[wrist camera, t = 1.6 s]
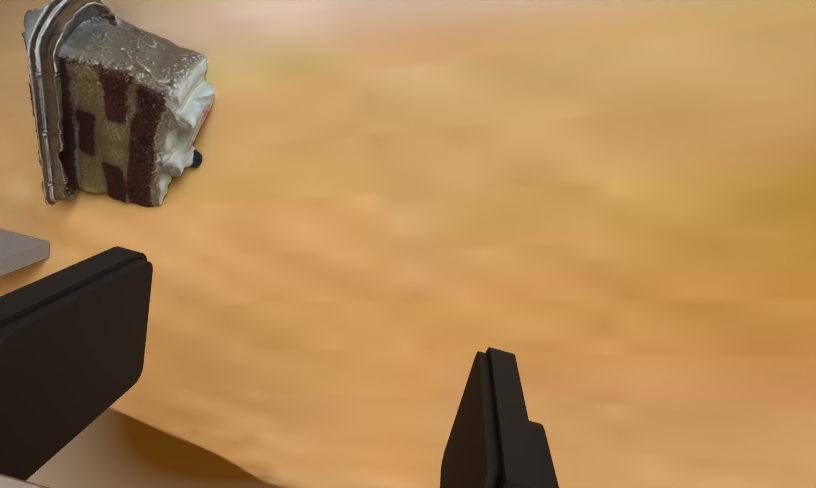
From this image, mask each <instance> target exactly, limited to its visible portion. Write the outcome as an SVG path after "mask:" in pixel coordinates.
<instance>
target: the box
mask: <svg viewBox="0 0 816 488" xmlns="http://www.w3.org/2000/svg"><path fill="white" fill-rule="evenodd" d="M49 246H50V242H48V241H44V240H40V239H36V238H33V237H29V236H25V235H22V234H18V233H14V232H11V231H7V230H3V229H0V276H2V275H5V274H7V273H10V272H13V271H15V270H18V269H20V268H23V267H25V266H28V265H31V264H33V263H36V262H38V261H41V260H43V259H46V258H48V257H49Z"/></svg>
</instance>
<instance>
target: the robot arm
mask: <svg viewBox="0 0 816 488" xmlns="http://www.w3.org/2000/svg"><path fill="white" fill-rule="evenodd" d="M152 272H153V267H152V264H151V262H148V261H147V258H146V256H145V254H143V253H140V252H136V251H133V250H129V249H125V248H121V247H118V246H117V247H113V248H111V249H109V250H106V251H104V252H102V253H100V254H97V255H95V256H93V257H90V258H88V259H86V260H83V261H81V262H79V263H77V264H74V265H72V266H70V267H67V268H65V269H63V270H61V271H58V272H56V273H54V274H51V275H49V276H47V277H44V278H42V279H40V280H38V281H35V282H33V283H31V284H28V285H26V286H24V287H22V288H19V289H17V290H15V291H12V292H10V293H8V294H5V295H3V296H1V297H0V488H48V487H45V486H41V485H38V484H34V483H30V482H27V481H26V480H27V479H28V478H29V477H30V476H31V475H33V474H34V473H35V472H36V471H37V470H38V469H39V468H40V467H41V466H43V465H44V464H45V463H46V462H47V461H48V460H50V459H51V457H53V456H54V455H55V454H56V453H57V452H59V451H60V450H61V449H62V448H63V447H64V446H65V445H66V444H68V443H69V442H70V441H71V440H72V439H73V438H74V437H75V436H77V435H78V434H79V433H80V432H81V431H82V430H83V429H85V427H87V426H88V425H89V424H90V423H91V422H93V421H94V420H95V419H96V418H97V417H98V416H99V415H100V414H101V413H103V412H104V411H105V410H106V409H107V408H108V407H109V406H111V405H112V404H113V403H114V402H115V401H116V400H117V399H119V398H120V397H121V396H122V395H123V394H124V393H125V392H126V391H128V390H129V389H130V388H131V387H132V386H133V385H134V384H135V383H136V382H137V381H138V379H139V377H140V375H141V373H142V369H143V362H144V352H145V342H146V332H147V322H148V312H149V302H150V292H151V282H152ZM440 488H559V486H558V482H557V478H556V474H555V470H554V466H553V462H552V458H551V454H550V450H549V446H548V442H547V438H546V434H545V430H544V428H543V425H541V424H539V423H536V422H532V421H529V420H528V415H527V410H526V405H525V401H524V396H523V391H522V386H521V382H520V377H519V372H518V367H517V362H516V358H515V355H514V354H512V353H508V352H505V351H501V350H497V349H494V348H490V347H489V348H488V349H487V351H486V353H483V352H479V351H478V352H477V354H476V356H475V359H474V362H473V365H472V368H471V371H470V375H469V378H468V381H467V384H466V387H465V390H464V393H463V396H462V399H461V402H460V405H459V409H458V412H457V415H456V418H455V421H454V424H453V427H452V430H451V433H450V436H449V439H448V442H447V446H446V449H445V452H444V456H443V460H442V466H441V479H440Z"/></svg>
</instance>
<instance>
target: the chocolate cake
mask: <svg viewBox="0 0 816 488" xmlns="http://www.w3.org/2000/svg"><path fill="white" fill-rule="evenodd" d="M50 1H51V2H50V3H49V4H47V5H46V6H45V7H44V9H42V10H40V9H36V8H35V9H34V11H31V10H29V11H28V12H27V13H26V14H25V17H24V26H25V29H26V30H25V32H23V33H22V35H23V37H24V41H25V44H26V49H27V52H28V53H27V55H28V61H29V66H27V67H28V68H29V72H30V75H29V77H30V80H31V81H30V82H28V83H29V86H30V93H31V97H32V98H31V101H32V106H33V116H35V124H36V130H35V131H36V132H37V135H38V141H39V151H38V153H39V159H40V161H39V162H40V165H41V166H42V170H43V177H44V182H42V185H41V187H42V188H43V189H42V190H43V193H44V200H43V201H45V202H46V204H49V205H53V204H55V203H56V202H58V201H70V200H72V199H73V198H74V197H75V196H76V194H77V192H78V191H79V189H82V190H84V191H87V192H91V193H95V194H98V193H105V194H107V195H109V196H110V197H111V198H113V199H117V200H121V201H123V202H125V203H129V202H130V203H136V204H138V205H141V206H145V207H154V206H156V205H161V204H162V202H163V198H164V196H165V195H166V194H167V191H168V184H169V183H170V182H171V181H172V178H171V176H173V177H180V176H181V174H182V173H183V170H184V168H185V167H198V166H199V165H200V164H201V162H202V155H201V154H200V153H199V152H198V151H197V150H196V149H195V148H194V146H193V142H194V140H195V138H196V136H197V134H198V132H199V130H200V128H201V126H202V124H203V122H204V120H205V118H206V116H207V114H208V112H209V110H210V108H211V107H212V102H213V99H214V97H215V88H214V86H213V85H212V84H211V83H209V82H207V81H206V80H205V73H206V70H207V58H206V57H205V56H204V55H202V54H200V53H197V52H195V51H193V50H189V49H185V48H181V47H179V46H176V45H175V44H174V43H172V42H171V41H169V40H167V39H164V38H161V37H158V36H156V35H154V34H151V33H148V32H146V31H144V30H142V29H139V28H137V27H135V26H134V25H131V24H129V23H127V22H125V21H123V20H121V19H119V18H118V17H117V16H116V15H115V14H113V13H111V11H110V9H109V8H108V7H107V6H105V5H104V4H103V3H102V2H101V0H50Z"/></svg>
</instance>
